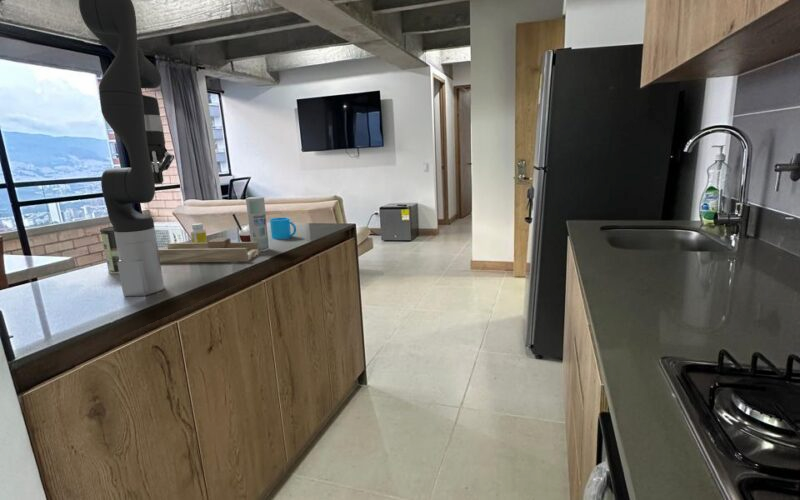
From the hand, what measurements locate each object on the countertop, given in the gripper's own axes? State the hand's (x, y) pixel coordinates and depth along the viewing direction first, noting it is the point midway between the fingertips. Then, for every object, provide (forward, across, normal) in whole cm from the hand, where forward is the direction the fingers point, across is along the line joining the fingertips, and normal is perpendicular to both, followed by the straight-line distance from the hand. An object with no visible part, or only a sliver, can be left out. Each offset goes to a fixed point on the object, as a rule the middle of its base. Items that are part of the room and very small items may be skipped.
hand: (158, 183), depth 142 cm
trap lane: (+27, +11, +4) cm, 29 cm away
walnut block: (+25, +16, +4) cm, 30 cm away
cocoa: (+27, +15, +30) cm, 43 cm away
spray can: (+27, +26, +15) cm, 41 cm away
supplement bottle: (+27, 0, +20) cm, 34 cm away
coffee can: (+27, -9, -10) cm, 30 cm away
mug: (+27, +28, +39) cm, 55 cm away
